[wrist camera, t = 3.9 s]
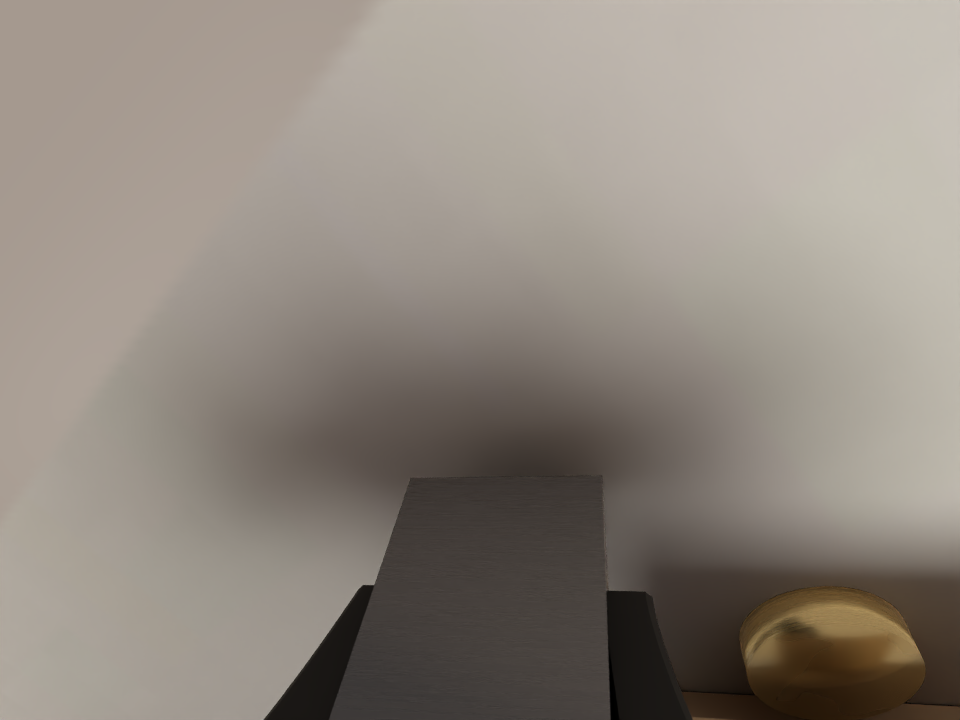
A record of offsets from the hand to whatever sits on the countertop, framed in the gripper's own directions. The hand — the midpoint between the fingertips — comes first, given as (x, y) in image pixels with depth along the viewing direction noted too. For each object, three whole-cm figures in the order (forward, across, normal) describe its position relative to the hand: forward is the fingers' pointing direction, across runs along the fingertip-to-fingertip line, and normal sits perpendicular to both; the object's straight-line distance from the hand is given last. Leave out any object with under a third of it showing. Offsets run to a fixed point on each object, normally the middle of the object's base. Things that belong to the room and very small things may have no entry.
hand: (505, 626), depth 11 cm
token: (+4, -6, +5) cm, 9 cm away
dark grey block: (+2, 0, +2) cm, 3 cm away
